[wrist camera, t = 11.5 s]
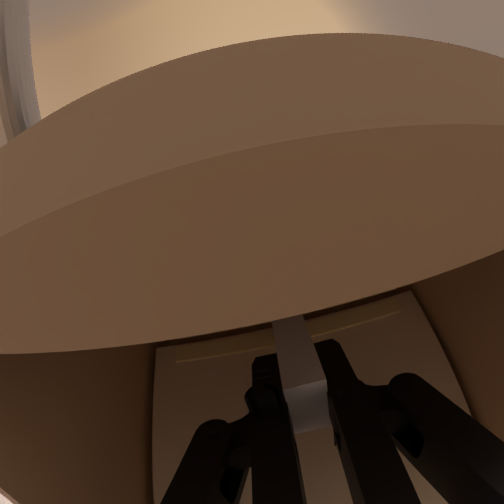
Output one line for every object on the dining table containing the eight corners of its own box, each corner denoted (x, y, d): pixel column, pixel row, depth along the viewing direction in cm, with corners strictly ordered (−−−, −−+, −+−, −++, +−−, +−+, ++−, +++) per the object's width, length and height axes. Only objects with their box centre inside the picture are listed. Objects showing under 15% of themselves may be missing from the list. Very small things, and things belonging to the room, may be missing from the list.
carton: (510, 488, 5) (632, 132, 1) (140, 572, 6) (-126, 302, 1) (403, 340, 23) (389, 137, 18) (179, 390, 24) (106, 201, 19)
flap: (495, 487, 6) (411, 288, 16) (158, 565, 6) (155, 346, 17) (486, 489, 6) (408, 297, 17) (167, 563, 7) (161, 353, 18)
